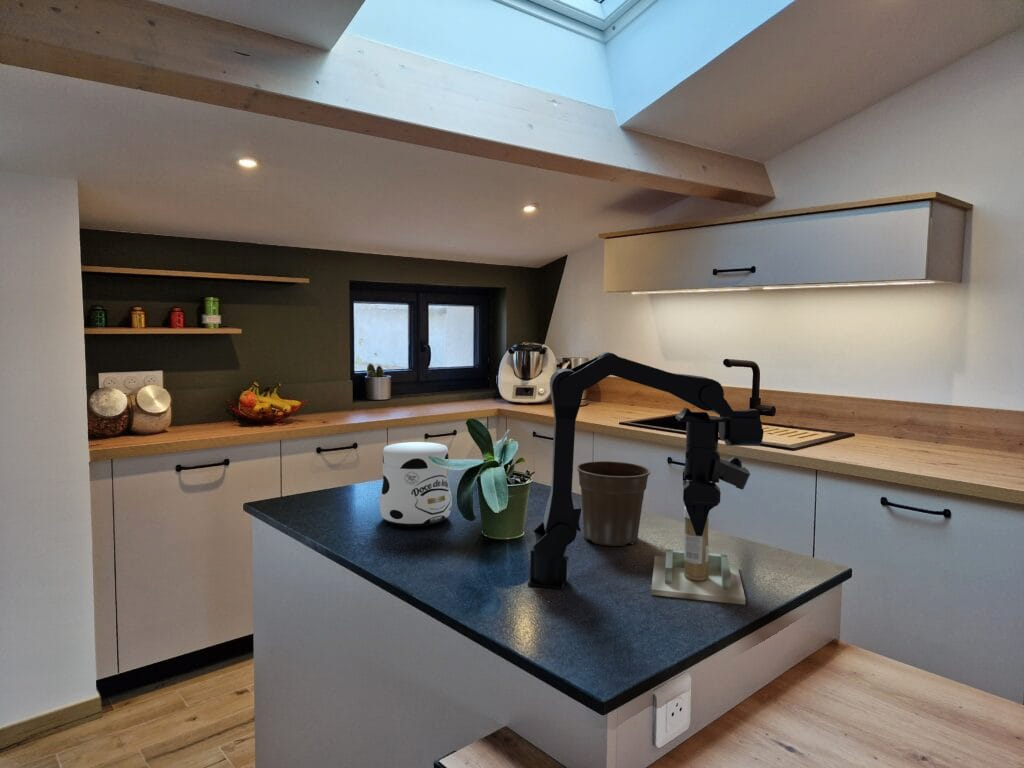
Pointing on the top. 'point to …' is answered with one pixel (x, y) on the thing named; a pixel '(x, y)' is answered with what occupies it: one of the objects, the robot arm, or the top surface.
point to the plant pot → (612, 501)
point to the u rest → (715, 588)
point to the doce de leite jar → (414, 485)
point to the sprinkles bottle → (695, 551)
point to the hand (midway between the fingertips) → (698, 528)
